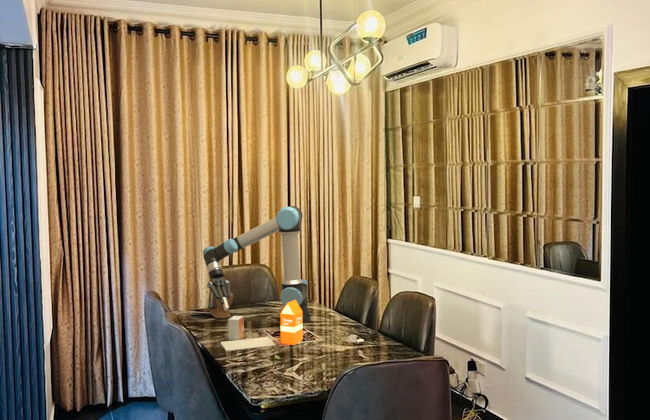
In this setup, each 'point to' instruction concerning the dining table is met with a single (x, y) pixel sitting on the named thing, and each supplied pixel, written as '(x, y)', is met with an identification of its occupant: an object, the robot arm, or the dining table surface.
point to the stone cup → (222, 308)
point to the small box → (236, 327)
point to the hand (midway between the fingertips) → (226, 309)
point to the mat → (247, 344)
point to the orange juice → (291, 323)
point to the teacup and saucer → (353, 338)
